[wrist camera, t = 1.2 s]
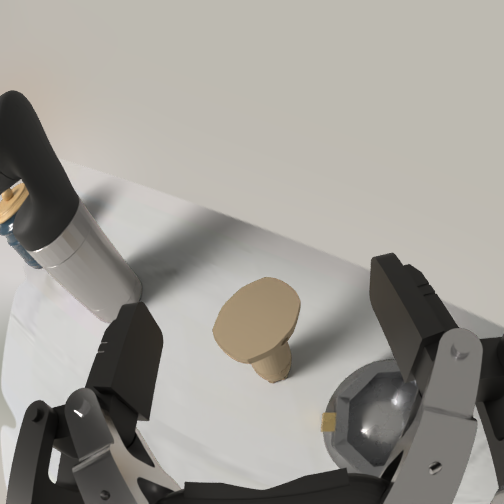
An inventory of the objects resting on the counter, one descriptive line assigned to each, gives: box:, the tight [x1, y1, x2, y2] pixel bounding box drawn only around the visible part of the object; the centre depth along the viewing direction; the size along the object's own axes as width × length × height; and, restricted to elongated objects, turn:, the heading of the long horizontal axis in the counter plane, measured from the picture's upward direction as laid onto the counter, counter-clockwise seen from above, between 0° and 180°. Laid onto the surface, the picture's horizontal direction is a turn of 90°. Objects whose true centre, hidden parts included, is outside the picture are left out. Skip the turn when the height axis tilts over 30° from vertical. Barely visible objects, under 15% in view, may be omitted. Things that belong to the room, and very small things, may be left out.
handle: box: [213, 277, 301, 383], centre depth 25 cm, size 5×6×15 cm
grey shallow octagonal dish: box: [321, 360, 418, 477], centre depth 23 cm, size 15×14×4 cm
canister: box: [0, 183, 42, 269], centre depth 45 cm, size 13×13×18 cm
